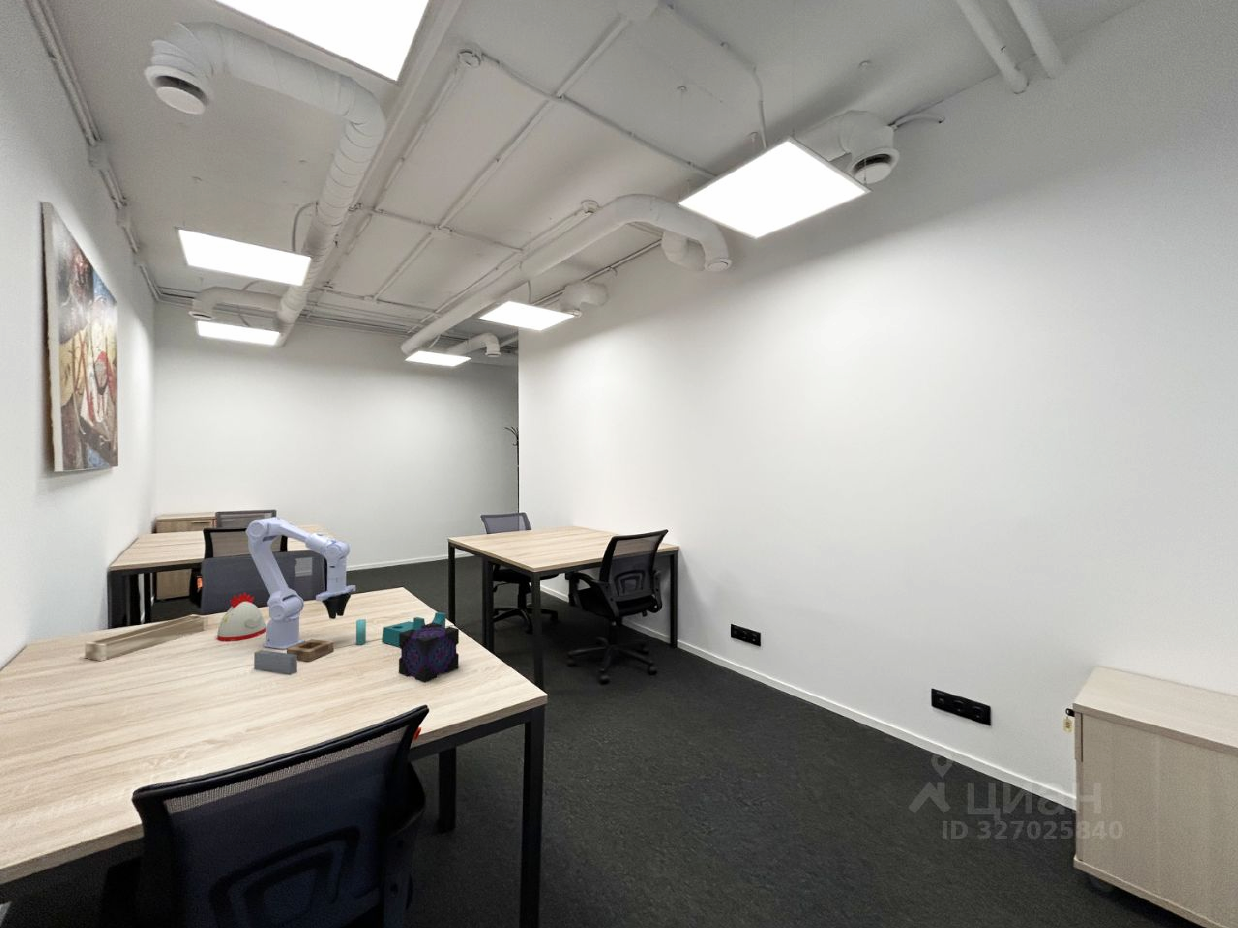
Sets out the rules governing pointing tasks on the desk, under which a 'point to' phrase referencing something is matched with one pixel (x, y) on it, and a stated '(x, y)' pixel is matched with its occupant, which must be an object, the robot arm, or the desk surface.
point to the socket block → (311, 649)
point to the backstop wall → (275, 662)
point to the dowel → (360, 631)
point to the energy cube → (428, 651)
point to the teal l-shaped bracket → (408, 628)
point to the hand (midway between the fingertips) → (336, 616)
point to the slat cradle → (144, 637)
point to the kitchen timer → (241, 621)
